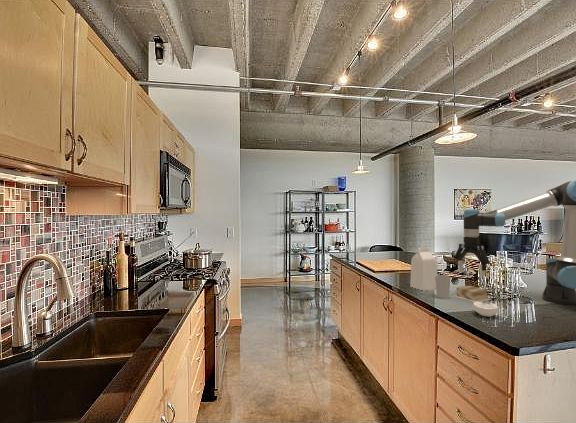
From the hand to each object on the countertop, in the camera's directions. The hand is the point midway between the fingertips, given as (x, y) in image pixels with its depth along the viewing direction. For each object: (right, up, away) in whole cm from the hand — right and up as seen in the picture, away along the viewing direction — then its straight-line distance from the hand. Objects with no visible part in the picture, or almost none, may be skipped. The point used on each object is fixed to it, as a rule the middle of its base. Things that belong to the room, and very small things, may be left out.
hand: (471, 273), depth 174 cm
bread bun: (0, -13, 0) cm, 13 cm away
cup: (-15, -14, +1) cm, 21 cm away
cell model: (-10, -14, -29) cm, 34 cm away
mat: (0, -14, 0) cm, 14 cm away
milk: (-16, -14, +24) cm, 32 cm away
